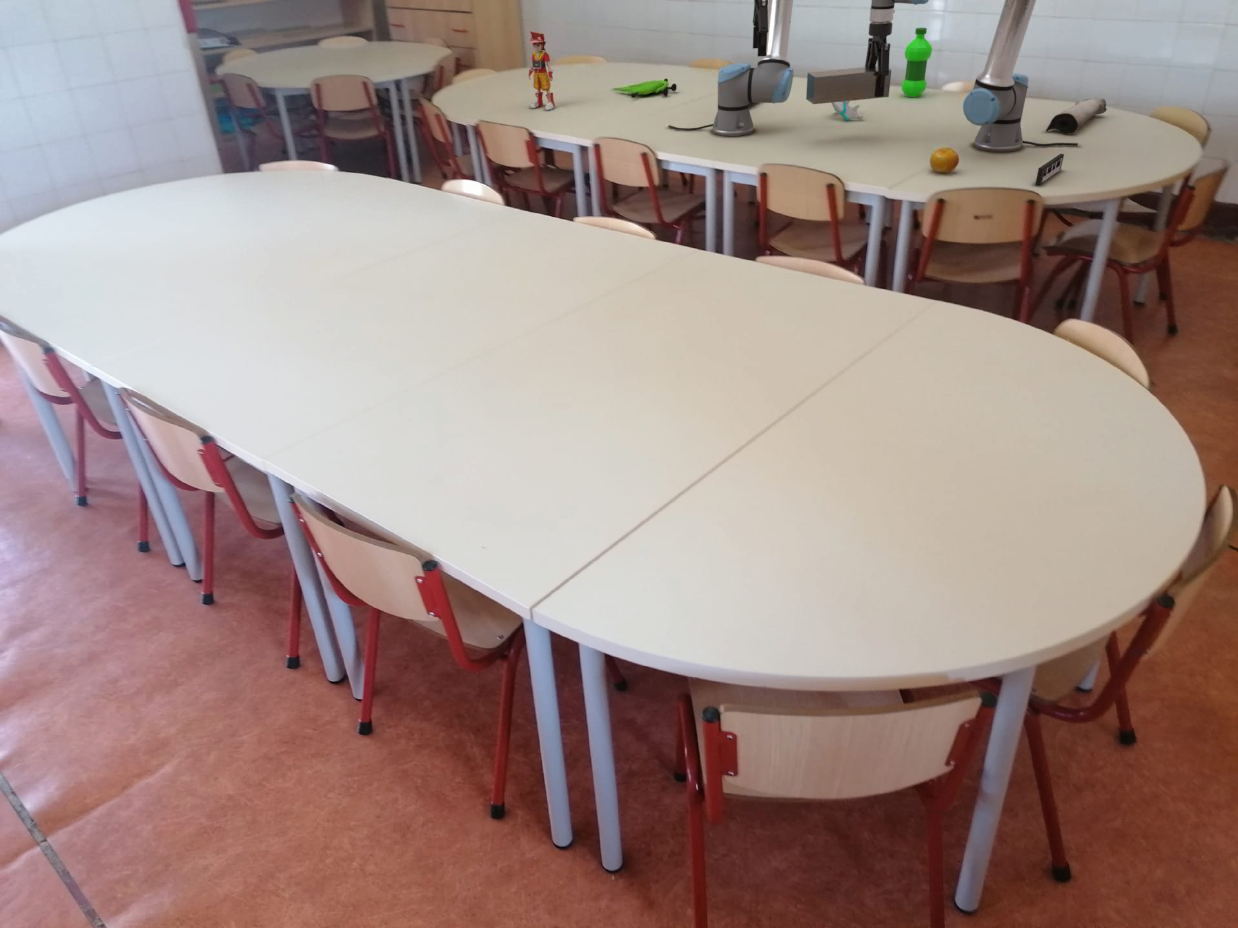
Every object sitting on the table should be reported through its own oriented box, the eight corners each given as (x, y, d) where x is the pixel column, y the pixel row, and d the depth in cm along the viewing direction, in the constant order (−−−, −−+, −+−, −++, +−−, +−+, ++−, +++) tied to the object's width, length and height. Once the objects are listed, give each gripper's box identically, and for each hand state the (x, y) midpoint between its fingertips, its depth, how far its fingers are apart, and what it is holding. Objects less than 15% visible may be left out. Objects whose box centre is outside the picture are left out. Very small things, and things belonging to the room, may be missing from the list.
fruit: (924, 163, 281) (941, 140, 278) (925, 165, 289) (941, 143, 286) (946, 178, 280) (963, 155, 277) (947, 180, 288) (963, 158, 285)
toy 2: (686, 85, 398) (631, 84, 414) (685, 72, 395) (629, 72, 411) (651, 104, 381) (596, 103, 397) (650, 92, 378) (594, 91, 394)
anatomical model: (825, 90, 346) (851, 83, 346) (828, 117, 352) (853, 110, 352) (836, 99, 334) (863, 92, 333) (839, 127, 340) (865, 120, 339)
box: (813, 104, 307) (815, 77, 302) (806, 99, 314) (807, 72, 309) (888, 97, 309) (891, 70, 304) (879, 92, 316) (882, 65, 311)
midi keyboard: (1039, 185, 269) (1043, 168, 266) (1035, 184, 270) (1038, 168, 267) (1060, 170, 279) (1064, 154, 277) (1056, 169, 280) (1060, 153, 277)
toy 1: (525, 109, 381) (517, 32, 364) (534, 104, 388) (527, 28, 371) (550, 110, 377) (543, 32, 360) (559, 105, 384) (553, 28, 367)
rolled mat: (1073, 103, 332) (1098, 85, 324) (1087, 124, 332) (1112, 107, 324) (1041, 125, 315) (1067, 107, 306) (1056, 147, 315) (1082, 129, 307)
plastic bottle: (931, 95, 365) (940, 28, 351) (913, 100, 361) (922, 32, 346) (911, 91, 372) (920, 25, 358) (894, 96, 368) (902, 29, 353)
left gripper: (779, -17, 271) (776, 59, 283) (768, -27, 291) (766, 44, 303) (754, -15, 271) (752, 60, 283) (745, -25, 292) (743, 45, 304)
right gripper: (904, 25, 291) (896, 99, 304) (880, 17, 308) (873, 86, 321) (882, 28, 290) (875, 101, 303) (859, 19, 308) (853, 88, 320)
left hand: (759, 52), depth 293 cm, fingers open, 13 cm apart
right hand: (874, 94), depth 312 cm, fingers closed on box, 8 cm apart
